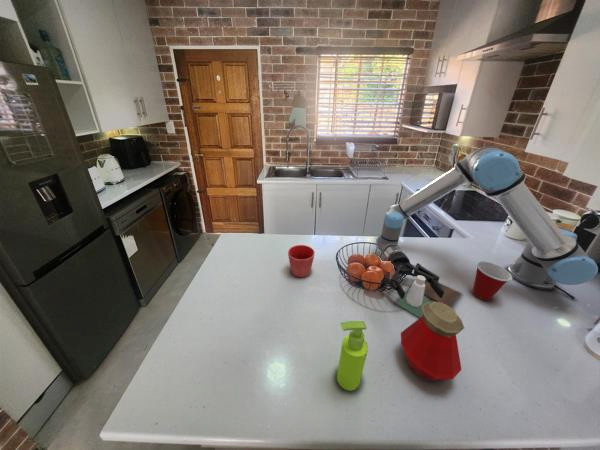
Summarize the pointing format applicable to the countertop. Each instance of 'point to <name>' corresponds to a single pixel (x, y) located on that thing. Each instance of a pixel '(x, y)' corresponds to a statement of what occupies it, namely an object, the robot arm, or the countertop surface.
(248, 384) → the countertop surface
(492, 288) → the plastic cup
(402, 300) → the sage mat
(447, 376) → the bottle
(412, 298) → the pepper shaker
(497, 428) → the countertop surface
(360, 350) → the soap dispenser
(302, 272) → the flower pot
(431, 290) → the walnut pad
